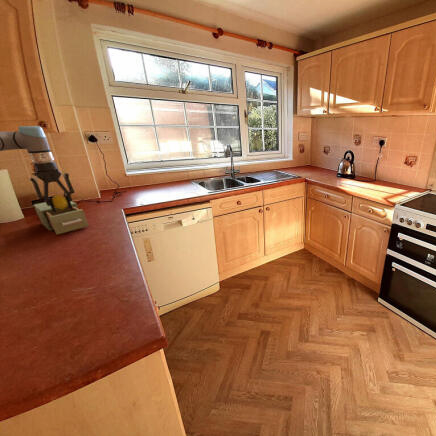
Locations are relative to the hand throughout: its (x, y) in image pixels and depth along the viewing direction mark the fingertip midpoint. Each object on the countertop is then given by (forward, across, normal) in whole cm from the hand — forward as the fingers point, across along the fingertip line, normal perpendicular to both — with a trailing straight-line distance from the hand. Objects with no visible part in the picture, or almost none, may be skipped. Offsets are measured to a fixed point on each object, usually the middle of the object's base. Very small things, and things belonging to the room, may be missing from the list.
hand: (62, 209), depth 120 cm
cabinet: (+10, 0, +14) cm, 18 cm away
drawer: (+9, 0, -1) cm, 9 cm away
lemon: (+1, 0, 0) cm, 1 cm away
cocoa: (+11, +4, +36) cm, 37 cm away
